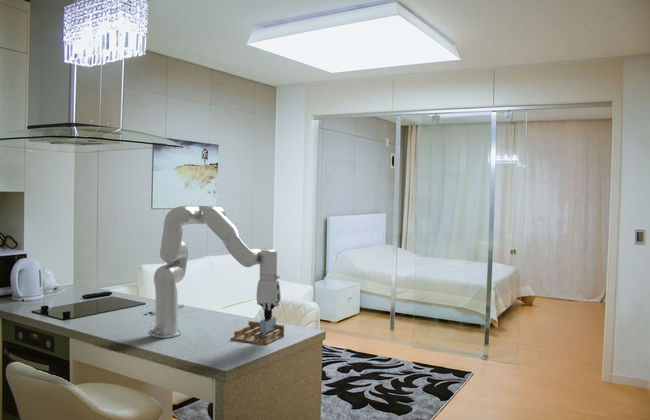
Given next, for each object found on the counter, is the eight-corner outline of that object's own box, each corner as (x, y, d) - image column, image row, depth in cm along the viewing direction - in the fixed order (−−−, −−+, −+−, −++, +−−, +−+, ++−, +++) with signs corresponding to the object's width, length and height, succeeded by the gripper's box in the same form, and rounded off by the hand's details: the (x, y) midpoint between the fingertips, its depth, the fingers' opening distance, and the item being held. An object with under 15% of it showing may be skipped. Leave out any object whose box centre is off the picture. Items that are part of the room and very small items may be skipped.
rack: (266, 345, 217) (266, 333, 217) (230, 340, 224) (230, 328, 224) (284, 336, 232) (284, 325, 232) (249, 331, 239) (249, 320, 239)
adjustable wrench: (181, 307, 292) (181, 304, 292) (189, 309, 288) (189, 305, 288) (143, 315, 271) (143, 311, 271) (151, 316, 268) (151, 313, 268)
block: (265, 339, 222) (266, 321, 222) (259, 339, 223) (260, 320, 223) (275, 334, 230) (276, 317, 230) (270, 334, 231) (270, 316, 231)
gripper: (287, 277, 226) (286, 318, 227) (257, 275, 232) (257, 315, 233) (279, 279, 219) (278, 322, 220) (249, 277, 225) (248, 319, 226)
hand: (268, 318), depth 226 cm, fingers closed
